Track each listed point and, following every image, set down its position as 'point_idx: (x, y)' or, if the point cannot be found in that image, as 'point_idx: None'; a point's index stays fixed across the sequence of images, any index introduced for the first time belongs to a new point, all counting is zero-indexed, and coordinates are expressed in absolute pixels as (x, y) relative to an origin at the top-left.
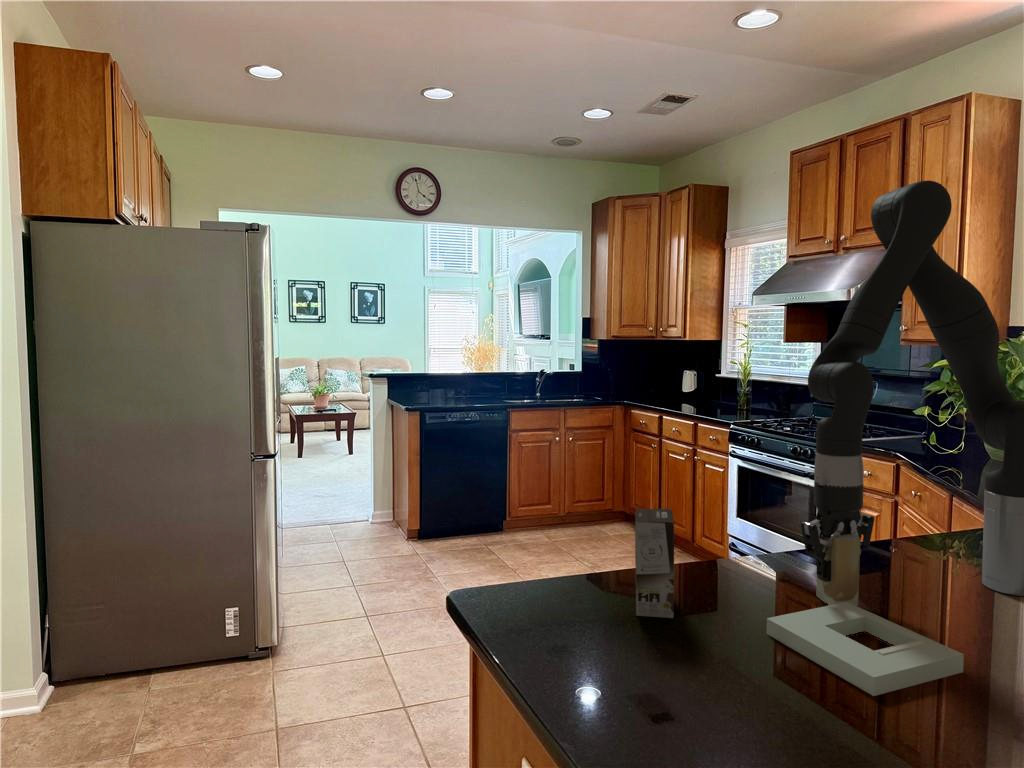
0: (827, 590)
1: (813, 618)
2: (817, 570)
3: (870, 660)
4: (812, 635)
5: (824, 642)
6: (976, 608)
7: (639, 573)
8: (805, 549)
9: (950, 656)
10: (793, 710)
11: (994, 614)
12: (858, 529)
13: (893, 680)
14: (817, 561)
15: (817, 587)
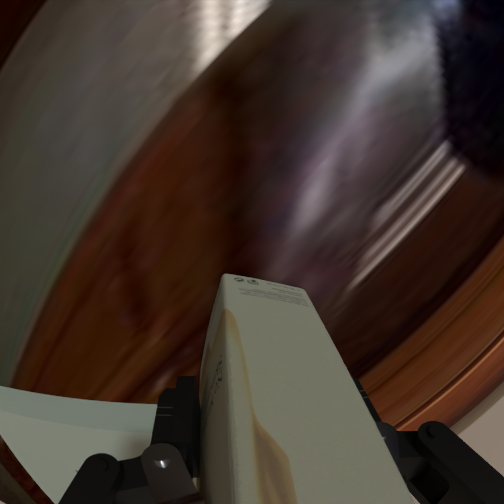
0: (204, 367)
1: (66, 449)
2: (158, 411)
3: None
4: (42, 473)
5: (53, 488)
6: (461, 406)
7: None
8: (77, 472)
9: None
10: (3, 483)
11: (453, 425)
12: (459, 502)
13: None
14: (153, 441)
15: (220, 297)
